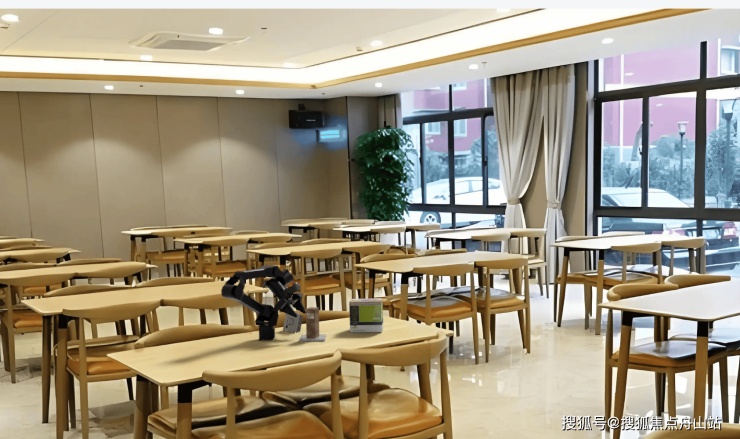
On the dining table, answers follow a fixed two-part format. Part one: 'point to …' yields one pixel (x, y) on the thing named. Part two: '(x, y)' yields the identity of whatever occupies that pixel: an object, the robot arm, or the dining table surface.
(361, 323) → the tea box
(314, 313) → the walnut block
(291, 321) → the electrical switch
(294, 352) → the dining table surface
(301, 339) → the slate coaster
